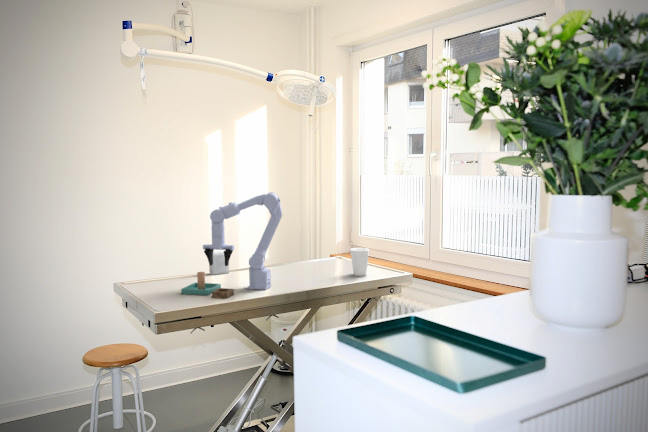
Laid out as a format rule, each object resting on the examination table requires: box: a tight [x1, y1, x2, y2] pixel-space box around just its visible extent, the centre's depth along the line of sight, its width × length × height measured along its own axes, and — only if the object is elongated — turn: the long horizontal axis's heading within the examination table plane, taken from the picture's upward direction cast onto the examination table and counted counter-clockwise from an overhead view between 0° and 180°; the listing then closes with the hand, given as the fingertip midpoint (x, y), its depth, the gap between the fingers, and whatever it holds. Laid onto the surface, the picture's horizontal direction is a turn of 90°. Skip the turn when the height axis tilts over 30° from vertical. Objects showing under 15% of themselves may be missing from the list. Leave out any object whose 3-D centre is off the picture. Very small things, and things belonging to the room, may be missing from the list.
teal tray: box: [180, 282, 222, 296], centre depth 246 cm, size 13×13×2 cm
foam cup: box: [350, 247, 370, 277], centre depth 279 cm, size 10×9×13 cm
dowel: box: [196, 271, 206, 290], centre depth 245 cm, size 3×3×8 cm
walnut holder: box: [211, 287, 235, 299], centre depth 237 cm, size 7×7×2 cm
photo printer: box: [208, 249, 230, 276], centre depth 283 cm, size 10×4×12 cm, turn 123°
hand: (218, 265), depth 251 cm, fingers open, 7 cm apart
